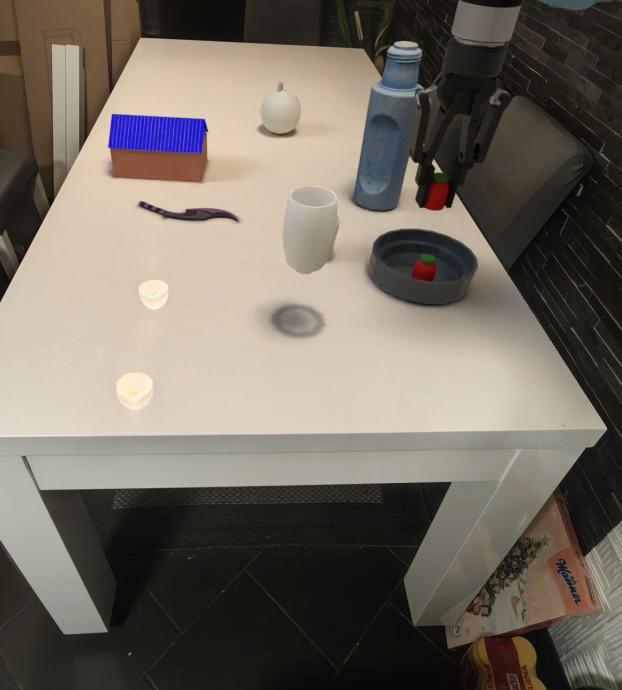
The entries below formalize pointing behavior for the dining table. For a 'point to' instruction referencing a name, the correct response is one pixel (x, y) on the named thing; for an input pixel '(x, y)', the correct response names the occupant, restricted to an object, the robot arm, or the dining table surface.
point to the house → (158, 147)
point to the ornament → (280, 111)
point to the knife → (191, 212)
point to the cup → (309, 228)
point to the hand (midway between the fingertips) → (433, 203)
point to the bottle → (388, 130)
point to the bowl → (406, 249)
